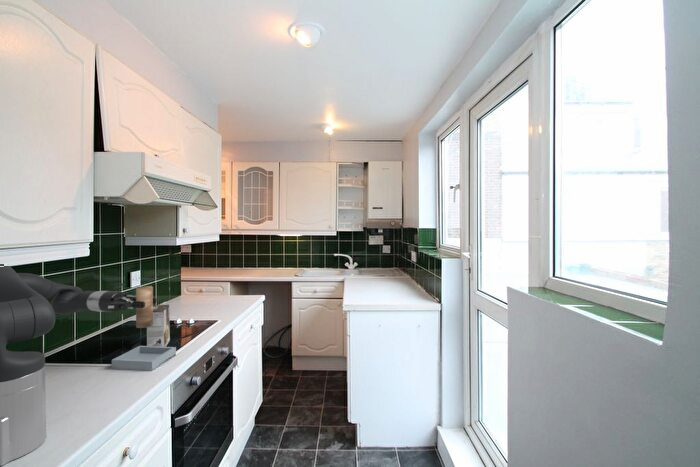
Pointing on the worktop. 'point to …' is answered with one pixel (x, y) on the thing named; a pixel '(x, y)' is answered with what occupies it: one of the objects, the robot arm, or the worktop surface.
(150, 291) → the walnut dowel
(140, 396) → the worktop surface
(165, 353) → the tray
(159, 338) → the coffee box
